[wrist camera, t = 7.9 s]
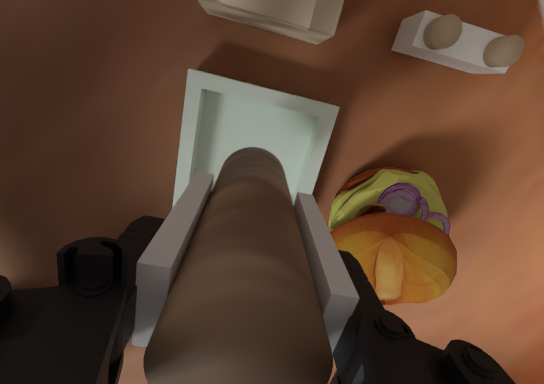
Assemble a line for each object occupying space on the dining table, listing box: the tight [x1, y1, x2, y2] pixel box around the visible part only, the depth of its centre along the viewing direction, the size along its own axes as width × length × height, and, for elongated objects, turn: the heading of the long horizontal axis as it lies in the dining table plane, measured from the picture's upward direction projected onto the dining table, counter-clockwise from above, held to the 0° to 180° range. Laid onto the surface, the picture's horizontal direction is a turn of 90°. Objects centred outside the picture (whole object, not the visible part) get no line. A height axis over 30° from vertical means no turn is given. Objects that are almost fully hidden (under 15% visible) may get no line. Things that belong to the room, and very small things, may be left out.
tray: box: [172, 68, 340, 209], centre depth 22 cm, size 11×11×2 cm
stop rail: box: [391, 10, 524, 74], centre depth 19 cm, size 7×2×4 cm, turn 76°
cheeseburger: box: [329, 166, 457, 305], centre depth 22 cm, size 10×11×10 cm
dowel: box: [144, 147, 333, 384], centre depth 11 cm, size 4×4×12 cm
